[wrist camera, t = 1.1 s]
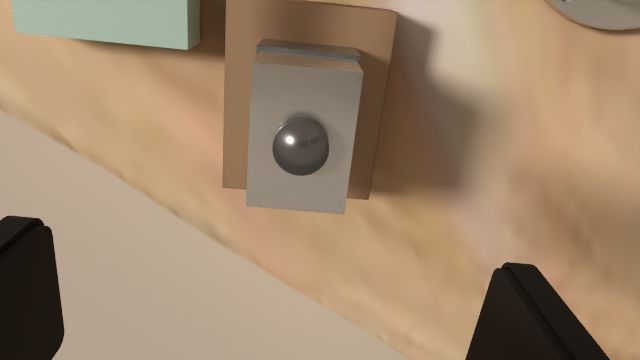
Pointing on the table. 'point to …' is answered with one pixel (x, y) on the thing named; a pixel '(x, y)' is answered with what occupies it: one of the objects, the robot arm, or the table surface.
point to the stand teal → (113, 21)
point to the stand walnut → (309, 27)
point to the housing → (302, 125)
